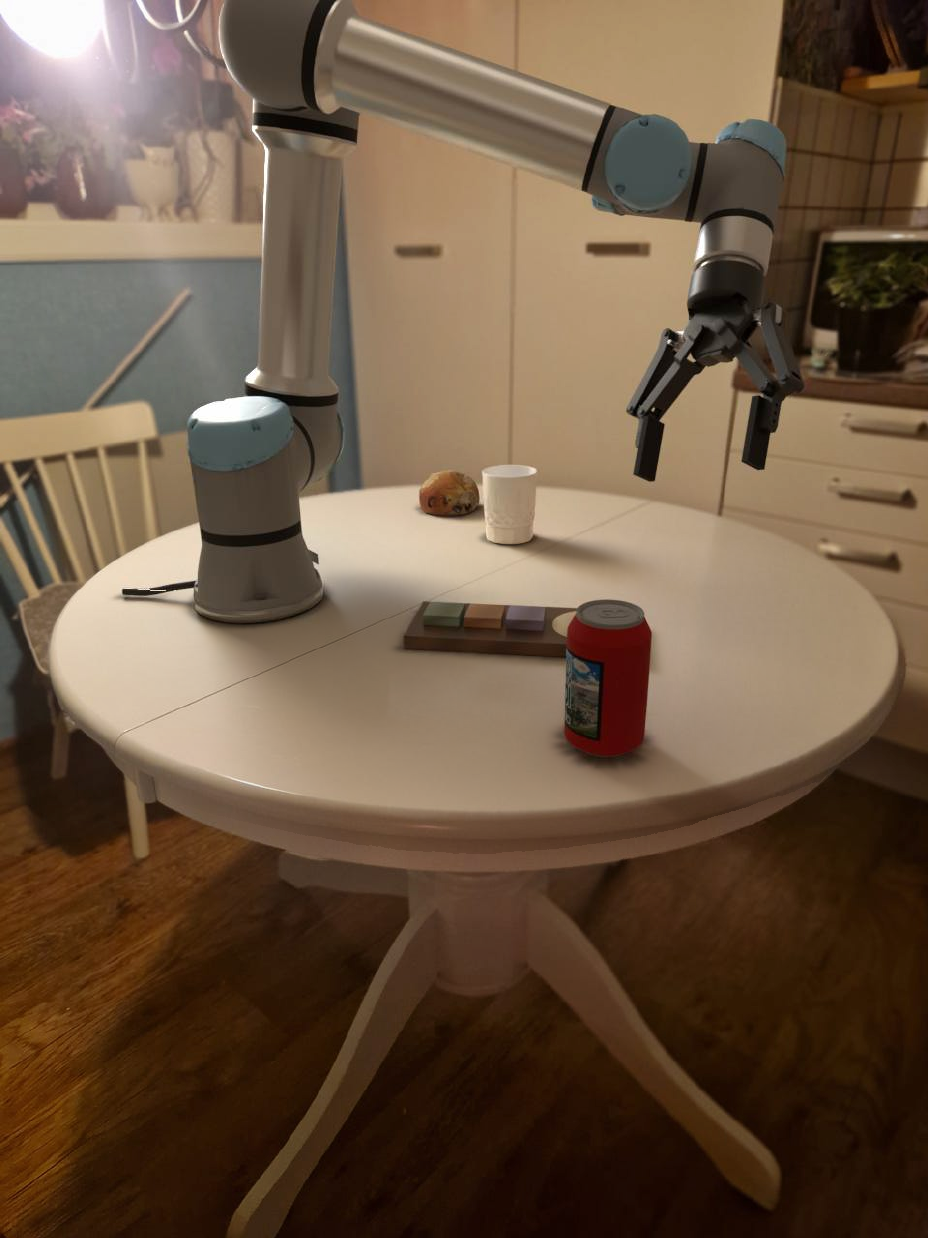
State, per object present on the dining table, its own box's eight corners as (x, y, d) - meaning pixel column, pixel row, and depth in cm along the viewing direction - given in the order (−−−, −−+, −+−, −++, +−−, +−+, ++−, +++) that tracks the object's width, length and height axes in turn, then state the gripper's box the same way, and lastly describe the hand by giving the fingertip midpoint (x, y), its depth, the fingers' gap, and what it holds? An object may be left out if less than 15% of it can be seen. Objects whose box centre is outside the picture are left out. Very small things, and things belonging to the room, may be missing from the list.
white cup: (536, 530, 130) (538, 464, 126) (535, 546, 123) (536, 477, 119) (484, 529, 131) (484, 464, 127) (480, 545, 124) (479, 476, 120)
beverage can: (557, 724, 76) (560, 597, 72) (632, 720, 77) (641, 594, 72) (571, 765, 70) (576, 630, 65) (653, 761, 71) (663, 626, 66)
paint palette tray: (403, 648, 92) (402, 625, 91) (423, 612, 101) (422, 591, 100) (633, 661, 88) (635, 636, 87) (632, 622, 97) (633, 600, 96)
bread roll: (478, 522, 147) (476, 475, 147) (482, 512, 137) (480, 462, 137) (420, 524, 146) (418, 477, 147) (420, 514, 136) (418, 464, 137)
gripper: (863, 256, 82) (829, 472, 80) (658, 318, 102) (627, 491, 100) (821, 219, 78) (784, 446, 76) (615, 291, 98) (582, 472, 96)
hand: (695, 472), depth 88 cm, fingers open, 13 cm apart
